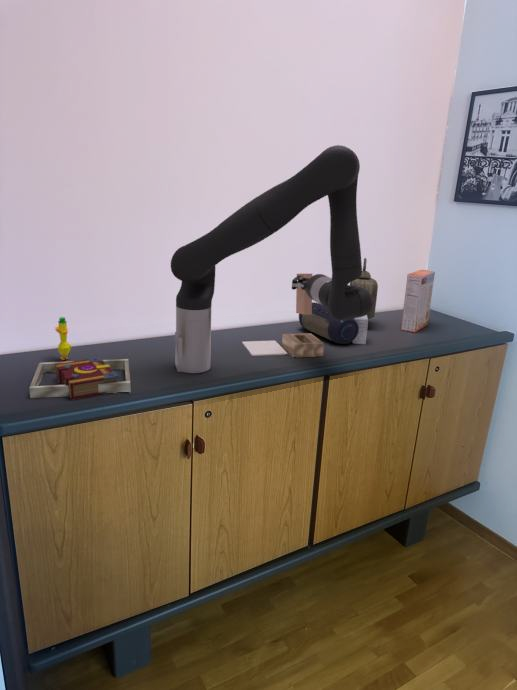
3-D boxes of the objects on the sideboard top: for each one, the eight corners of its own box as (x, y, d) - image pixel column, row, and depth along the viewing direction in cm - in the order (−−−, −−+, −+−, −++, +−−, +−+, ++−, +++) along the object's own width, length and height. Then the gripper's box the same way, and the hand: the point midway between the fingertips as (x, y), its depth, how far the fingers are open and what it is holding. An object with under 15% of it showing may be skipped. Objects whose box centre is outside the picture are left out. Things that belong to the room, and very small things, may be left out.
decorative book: (71, 402, 115) (69, 381, 113) (54, 378, 127) (52, 360, 126) (120, 393, 121) (119, 373, 119) (99, 371, 134) (98, 353, 132)
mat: (252, 356, 150) (252, 354, 150) (241, 342, 162) (242, 341, 162) (287, 354, 153) (287, 353, 153) (274, 341, 165) (275, 340, 165)
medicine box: (365, 345, 166) (368, 319, 163) (351, 343, 167) (354, 318, 164) (364, 338, 173) (367, 313, 171) (351, 337, 174) (354, 312, 171)
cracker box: (412, 322, 197) (420, 269, 190) (428, 325, 193) (436, 271, 187) (399, 330, 186) (406, 273, 179) (415, 333, 182) (423, 275, 176)
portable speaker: (292, 328, 181) (294, 300, 178) (315, 325, 186) (318, 299, 183) (335, 348, 161) (338, 318, 158) (360, 345, 165) (363, 315, 162)
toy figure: (52, 357, 141) (49, 315, 138) (65, 354, 144) (62, 313, 140) (62, 363, 137) (59, 320, 133) (75, 361, 139) (72, 318, 135)
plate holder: (293, 357, 150) (294, 344, 149) (281, 346, 160) (282, 334, 159) (322, 356, 153) (323, 343, 152) (309, 345, 163) (310, 333, 162)
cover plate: (304, 314, 150) (304, 273, 148) (296, 312, 157) (296, 273, 155) (311, 314, 151) (312, 273, 149) (303, 312, 157) (304, 273, 156)
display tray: (30, 398, 115) (29, 388, 114) (40, 371, 130) (39, 362, 130) (130, 392, 120) (130, 382, 120) (128, 367, 136) (128, 358, 135)
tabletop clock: (346, 320, 196) (352, 254, 189) (370, 321, 195) (377, 256, 188) (347, 329, 183) (354, 260, 175) (372, 332, 182) (381, 261, 174)
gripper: (348, 276, 139) (324, 266, 154) (301, 276, 135) (281, 266, 151) (346, 303, 141) (322, 290, 157) (299, 304, 137) (279, 291, 153)
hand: (302, 278), depth 154 cm, fingers closed on cover plate, 2 cm apart
